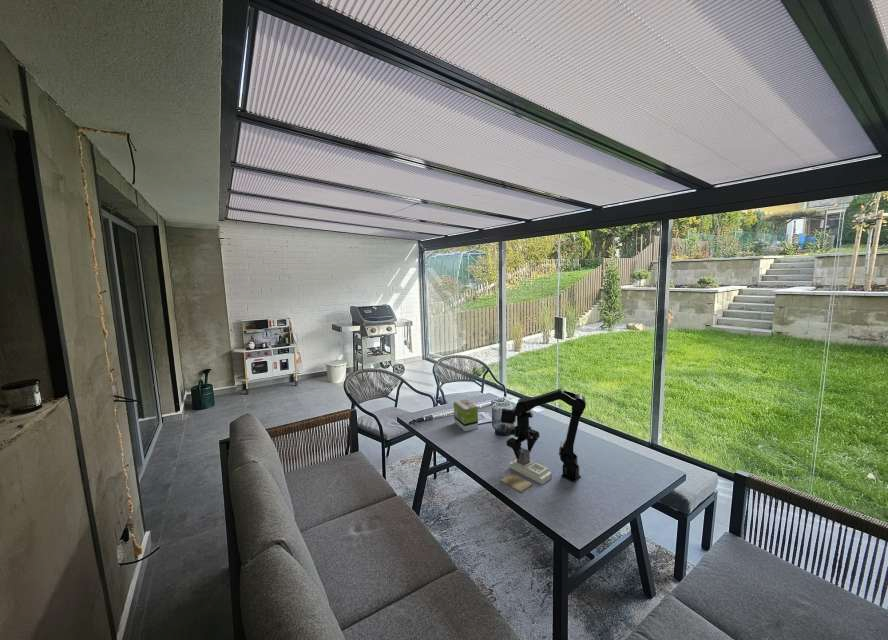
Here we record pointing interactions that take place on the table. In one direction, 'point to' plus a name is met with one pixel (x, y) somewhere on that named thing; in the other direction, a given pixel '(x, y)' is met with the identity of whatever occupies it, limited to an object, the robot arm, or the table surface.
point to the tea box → (466, 415)
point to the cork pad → (516, 482)
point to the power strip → (532, 470)
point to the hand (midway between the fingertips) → (523, 455)
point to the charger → (524, 457)
